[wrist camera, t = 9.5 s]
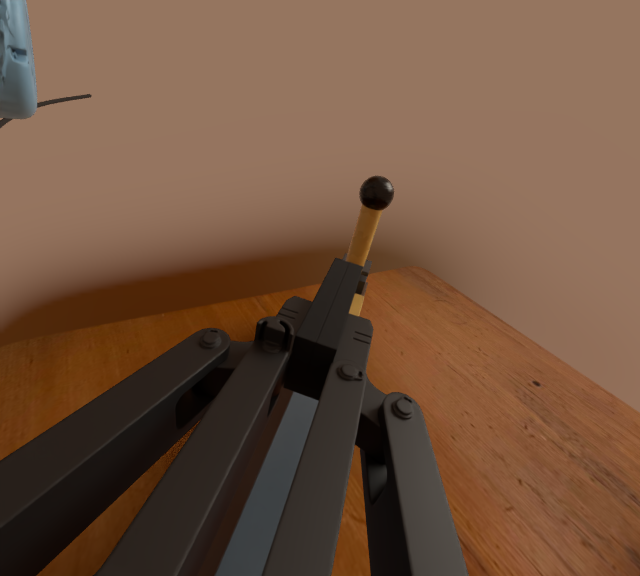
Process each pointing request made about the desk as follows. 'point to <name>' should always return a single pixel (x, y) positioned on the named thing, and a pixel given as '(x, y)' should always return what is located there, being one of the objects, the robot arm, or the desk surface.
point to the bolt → (369, 216)
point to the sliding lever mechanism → (267, 481)
